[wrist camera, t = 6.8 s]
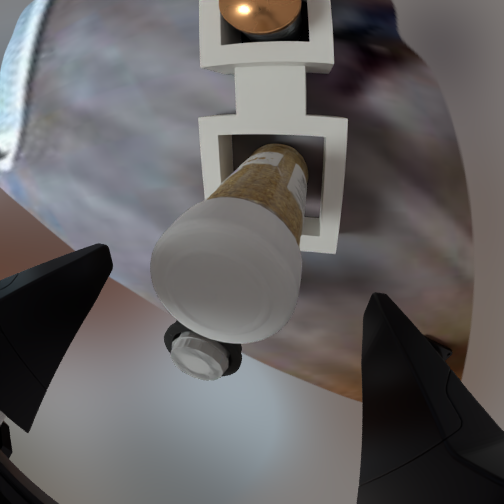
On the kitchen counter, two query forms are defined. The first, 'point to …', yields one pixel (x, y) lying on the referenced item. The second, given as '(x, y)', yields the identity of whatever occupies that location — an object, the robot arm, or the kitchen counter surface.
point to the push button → (201, 353)
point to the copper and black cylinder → (264, 18)
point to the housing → (274, 106)
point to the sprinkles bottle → (238, 251)
